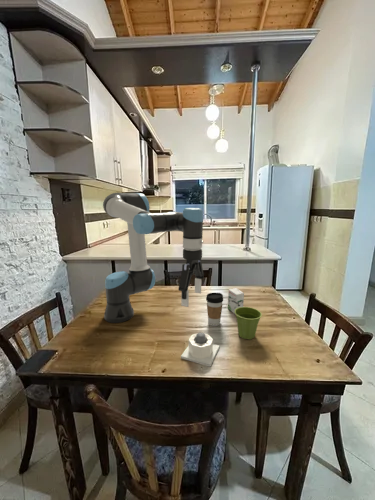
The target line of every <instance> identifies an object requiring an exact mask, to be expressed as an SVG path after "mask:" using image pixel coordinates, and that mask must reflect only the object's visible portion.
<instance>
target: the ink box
mask: <svg viewBox="0 0 375 500" xmlns="http://www.w3.org/2000/svg"><path fill="white" fill-rule="evenodd" d="M227 294H228V296H227V309H228V310H230V311H231V312H232V313H233V314H234V315H236V314H235V312H234V311H235V309H237V308H239V307H244V301H245V299H244V298H245V293H244V292H243V291H241V290H240V289H239V288H237V287H234V288H229V289H228V293H227Z"/></svg>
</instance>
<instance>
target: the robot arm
mask: <svg viewBox="0 0 375 500" xmlns="http://www.w3.org/2000/svg"><path fill="white" fill-rule="evenodd" d="M102 208H103V210H104V212H105V213H106V214H107V215H108V216H110V217H112V218H119V219H120V220H122V221H124V222H126V223H127V231H128V232H127V234H128V235H127V236H128V245H129V246H128V247H129V253H130V254H129V255H130V263H131V264H130V267H129V268H128V272H127V271H123V270H122V271H115V272H113V273H110V274H108V275H107V276H106V277H105V280H104V288H105V300H106V307H105V309H104V315H103V318H104V320H105V321H106V322H107V323H111V324H118V323H124V322H127V321H129V320H131V319H132V318H133V317H134V315H135V311H134V308H133V306H132V303H131V301H130V296H131V295H135V294H138V293H143V292H147V291H149V290H151V289H153V288H154V286H155V284H156V274H155V271H154V270H153V269H152V268H151V266H150V265H148V260H147V247H146V246H147V245H146V238H145V235H148V234H149V235H150V234H157V233H166V232H167V233H168V232H175V231H176V232H182V233H183V234H182V248H183V249H182V258H183V259H184V260H186V261H185V262H186V263H183V264H182V266H181V274H180V279H179V285H178V289H177V290H178V291H179V292H181V296H180V297H181V303H180V305H181V306H182V307H187V308H189V305H190V303H189V300H190V299H189V298H190V297H189V296H190V294H189V293H190V290H189V287H190V283H191V279H192V276H193V275H195V278H194V293H195V294H201V293H202V279H204V278H205V277H204V269H203V263H202V258H203V249H202V248H203V243H204V241H203V230H204V229H203V228H204V227H203V225H204V212H203V209H202V208H199V207H186V208H183V209H182V212H180V211H175V210H174V211H168V212H150V202H149V199H148V198H147V196H146V195H145V194H144V193H140V192H113V193H110V194H108V195H107V196H106V197H105V198H104V199H103V203H102Z"/></svg>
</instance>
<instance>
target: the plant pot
mask: <svg viewBox="0 0 375 500" xmlns="http://www.w3.org/2000/svg"><path fill="white" fill-rule="evenodd" d="M234 312H235V314H234V315H235V318H236V322H237V332H238V336H239V337H240V338H241V339H244V340H246V339H247V340H252V339H254V338H255V336H256V334H257V329H258V325H259V321H260V320H261V318H262V316H263V313H262V312H261V311H260V310H259V309H257V308H253V307H251V306H250V307H249V306H243V307H239V308H237V309H235V311H234Z"/></svg>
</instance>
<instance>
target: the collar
mask: <svg viewBox="0 0 375 500" xmlns="http://www.w3.org/2000/svg"><path fill="white" fill-rule="evenodd" d="M197 334H198V333H193V334H192V335H190V337H189V339H188V345H189V352H190V354H191V355H192V356H193V357H196V358H200V359H203V358H206V357H210V355H211V354H212V352H213V344H214V339H213V338H212V336H210V335H209V334H207V333H204V334H205V343H204V344H198V343H196V335H197Z"/></svg>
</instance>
